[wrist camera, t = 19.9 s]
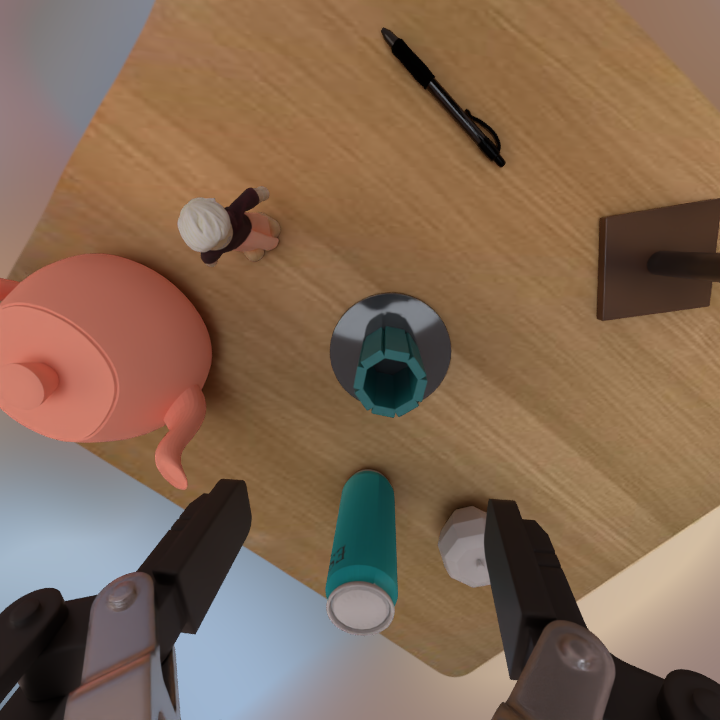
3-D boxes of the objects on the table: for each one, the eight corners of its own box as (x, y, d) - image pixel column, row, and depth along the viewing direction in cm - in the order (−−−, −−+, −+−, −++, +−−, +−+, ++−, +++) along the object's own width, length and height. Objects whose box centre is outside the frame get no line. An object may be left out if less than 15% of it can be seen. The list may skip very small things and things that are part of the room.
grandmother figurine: (261, 279, 35) (197, 298, 23) (226, 257, 35) (143, 264, 23) (300, 206, 33) (251, 185, 21) (263, 181, 33) (192, 146, 21)
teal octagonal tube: (367, 322, 36) (361, 343, 28) (423, 333, 35) (433, 358, 28) (356, 375, 37) (348, 409, 30) (410, 386, 37) (416, 422, 30)
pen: (511, 156, 31) (516, 152, 30) (496, 172, 31) (500, 169, 30) (392, 20, 28) (392, 11, 27) (377, 40, 29) (377, 32, 28)
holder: (599, 218, 32) (690, 207, 22) (712, 199, 31) (858, 179, 21) (596, 318, 34) (676, 347, 25) (700, 304, 33) (825, 329, 24)
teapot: (289, 357, 38) (239, 417, 25) (207, 464, 42) (131, 560, 30) (71, 196, 34) (-115, 169, 21) (9, 332, 39) (-174, 376, 26)
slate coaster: (341, 281, 35) (340, 281, 35) (464, 306, 35) (465, 307, 34) (322, 394, 39) (321, 396, 38) (433, 417, 39) (434, 419, 38)
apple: (494, 551, 43) (513, 603, 37) (428, 544, 44) (435, 594, 38) (508, 495, 41) (530, 540, 35) (437, 487, 41) (447, 531, 35)
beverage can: (336, 495, 42) (311, 622, 28) (355, 456, 41) (339, 571, 26) (381, 513, 43) (379, 648, 29) (402, 476, 41) (411, 599, 27)
